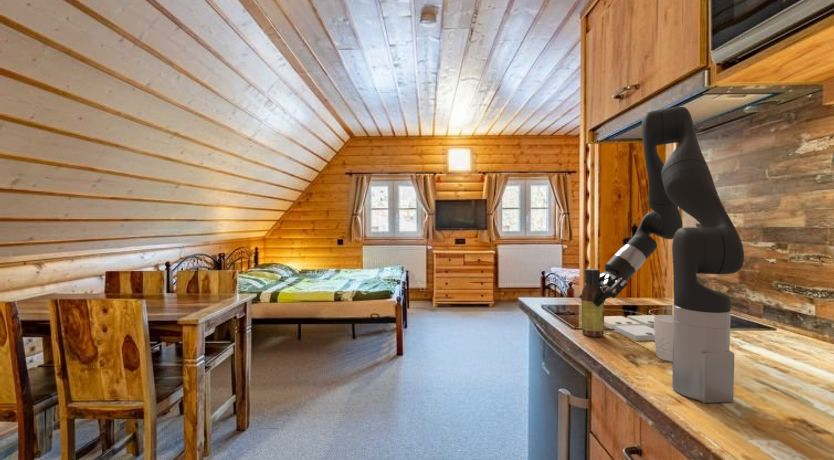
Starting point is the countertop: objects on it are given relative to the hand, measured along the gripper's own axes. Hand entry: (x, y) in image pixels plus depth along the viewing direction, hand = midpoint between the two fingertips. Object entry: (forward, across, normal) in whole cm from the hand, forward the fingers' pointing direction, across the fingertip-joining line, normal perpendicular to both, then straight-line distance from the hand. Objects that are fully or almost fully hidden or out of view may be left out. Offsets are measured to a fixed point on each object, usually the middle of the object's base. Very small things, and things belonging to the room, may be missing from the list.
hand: (588, 301), depth 118 cm
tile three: (-12, -10, +26) cm, 31 cm away
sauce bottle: (+6, 0, +8) cm, 10 cm away
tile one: (-4, +2, +18) cm, 19 cm away
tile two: (-4, -10, +18) cm, 21 cm away
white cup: (0, +21, +15) cm, 26 cm away
